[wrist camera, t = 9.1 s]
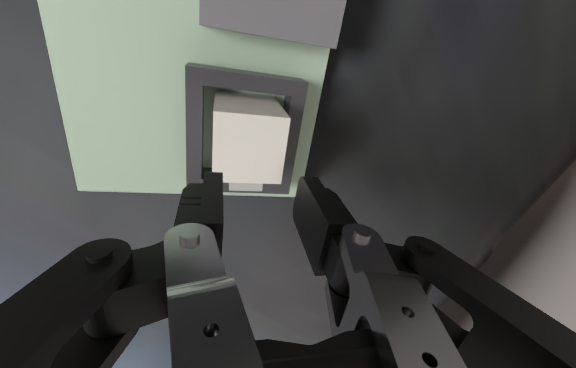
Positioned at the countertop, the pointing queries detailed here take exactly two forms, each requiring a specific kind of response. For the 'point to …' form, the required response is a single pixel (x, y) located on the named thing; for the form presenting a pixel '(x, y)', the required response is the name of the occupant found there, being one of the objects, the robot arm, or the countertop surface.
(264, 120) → the plug
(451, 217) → the countertop surface
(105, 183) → the circuit board
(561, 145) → the countertop surface
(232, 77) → the header socket
